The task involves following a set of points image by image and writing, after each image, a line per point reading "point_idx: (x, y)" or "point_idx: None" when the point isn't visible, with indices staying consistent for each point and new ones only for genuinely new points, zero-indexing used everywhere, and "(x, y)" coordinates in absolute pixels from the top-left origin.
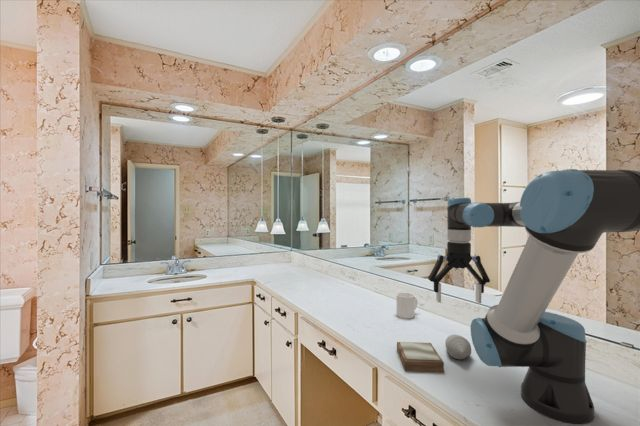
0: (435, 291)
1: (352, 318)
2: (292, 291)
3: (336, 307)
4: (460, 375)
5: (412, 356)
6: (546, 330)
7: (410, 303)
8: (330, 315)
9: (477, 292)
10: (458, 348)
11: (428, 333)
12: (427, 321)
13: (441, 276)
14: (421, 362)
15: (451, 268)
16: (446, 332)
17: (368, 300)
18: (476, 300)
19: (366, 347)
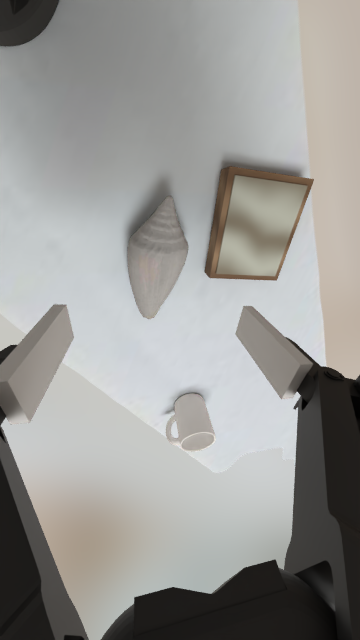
0: (288, 339)
1: None
2: None
3: (282, 413)
4: (190, 148)
5: (288, 200)
6: None
7: (190, 420)
8: None
9: (50, 352)
10: (174, 215)
11: (176, 345)
12: (157, 388)
13: (342, 414)
14: (278, 174)
15: (353, 542)
16: (138, 352)
17: (223, 441)
18: (70, 331)
19: (313, 283)
